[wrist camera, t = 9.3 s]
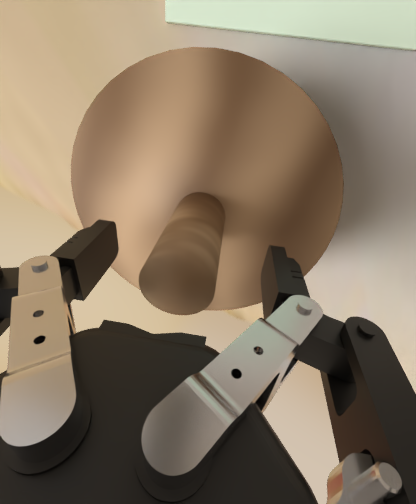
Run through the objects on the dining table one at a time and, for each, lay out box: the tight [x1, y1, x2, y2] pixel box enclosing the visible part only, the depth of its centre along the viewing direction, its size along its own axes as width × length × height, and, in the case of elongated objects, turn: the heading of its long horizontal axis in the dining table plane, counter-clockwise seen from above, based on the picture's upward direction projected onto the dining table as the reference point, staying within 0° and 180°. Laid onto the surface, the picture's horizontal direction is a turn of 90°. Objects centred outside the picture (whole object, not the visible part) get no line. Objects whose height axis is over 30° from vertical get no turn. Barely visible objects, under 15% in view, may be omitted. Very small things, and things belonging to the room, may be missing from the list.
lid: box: [71, 47, 344, 315], centre depth 14 cm, size 17×17×8 cm
